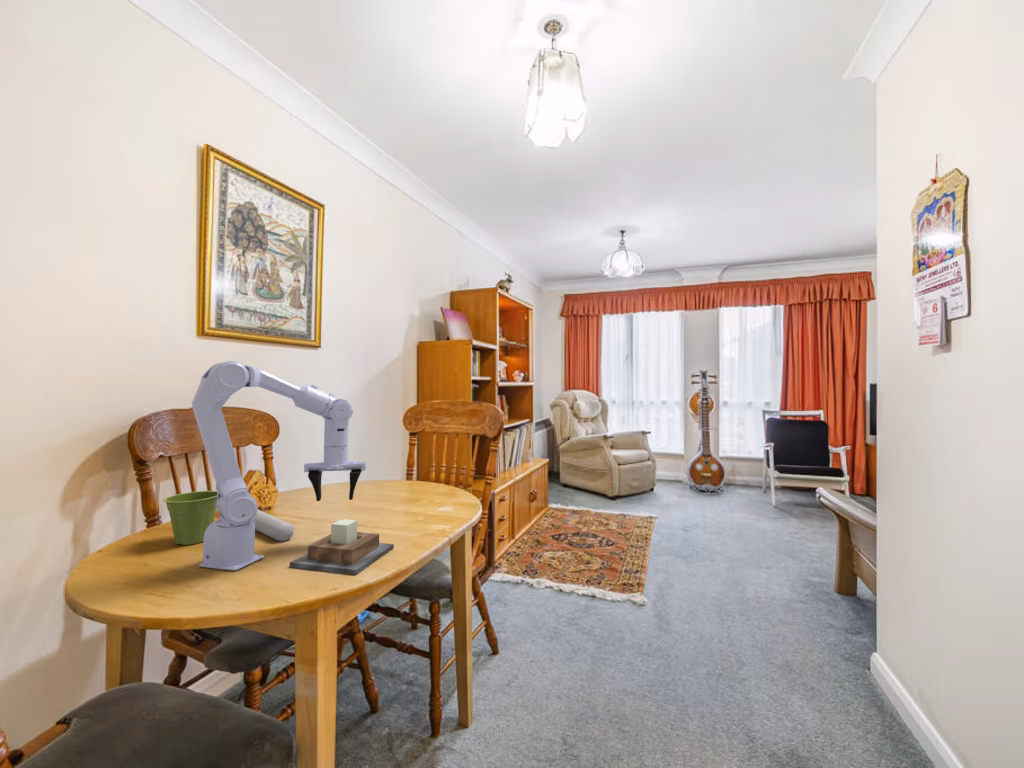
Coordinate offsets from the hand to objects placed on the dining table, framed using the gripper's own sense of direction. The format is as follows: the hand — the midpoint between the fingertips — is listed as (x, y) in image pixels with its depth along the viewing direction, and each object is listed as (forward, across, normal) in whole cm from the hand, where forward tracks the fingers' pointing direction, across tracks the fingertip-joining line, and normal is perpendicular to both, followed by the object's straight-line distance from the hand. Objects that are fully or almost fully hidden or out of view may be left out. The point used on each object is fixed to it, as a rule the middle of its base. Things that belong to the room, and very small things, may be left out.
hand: (335, 499), depth 111 cm
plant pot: (+11, -34, +7) cm, 37 cm away
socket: (+10, +4, -12) cm, 16 cm away
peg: (+9, +4, -12) cm, 16 cm away
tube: (+11, -19, +11) cm, 25 cm away
